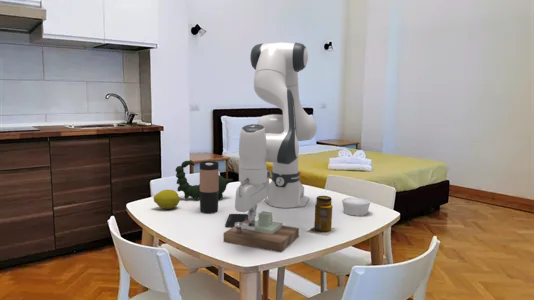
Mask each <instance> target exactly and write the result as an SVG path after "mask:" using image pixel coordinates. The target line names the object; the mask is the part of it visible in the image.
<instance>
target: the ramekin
mask: <svg viewBox="0 0 534 300" xmlns="http://www.w3.org/2000/svg"><path fill="white" fill-rule="evenodd" d="M341 203H342V209H343V212H344V214H346V215H348V214H349V215H348V216H352V215H355V216H354V217H362V216H361V215H364V216H366V215H367V214H368V212H369V209H370V204H371V201H370V200H369V199H366V198H363V197H362V198H361V197H346V198H343V199H342V200H341Z"/></svg>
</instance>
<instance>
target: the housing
mask: <svg viewBox="0 0 534 300" xmlns="http://www.w3.org/2000/svg"><path fill="white" fill-rule="evenodd" d="M242 223H245V224H248V220H245V221H243V222H242ZM299 228H300V227H295V226H288V225H283V227H281V228H280V229H279V230H277V231H276V232H275V233H273V234H268V233H262V232H256V231H250V230H247V229H243V228H235V226H234V227H233V228H229V229H227V230H226V231H224V232H223V242H224V243H227V244H234V245H238V246H239V245H240V246H245V247H249V248H255V249H259V250H261V249H262V250H265V251H266V250H267V251H271V252H276V253H282V252H283V251H285V249H286V248H287V247H289V246H290V245H291V244H292V243H293V242H294V241H296V239H298V238H299V236H300V235H299V234H300V232H299V231H300V229H299Z"/></svg>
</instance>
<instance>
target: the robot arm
mask: <svg viewBox="0 0 534 300" xmlns="http://www.w3.org/2000/svg"><path fill="white" fill-rule="evenodd" d="M249 59H250V64H251V67H252V69H254V77H253V91H254V92H255V93H256V95H257V97H259V98H260V99H261V100H262V101H264V102H265V103H267V104H270V105H273V106H275V107H277V108H278V109H280V110H281V111H282V114H267V115H262V116H261V117H260V118H259V119H258V121H257V123H255V124H254V123H252V124H246V125H244V126H243V127H241V128H240V135H239V142H238V143H239V144H238V155H239V164H238V182H240V184H239V185H238V186H237V188H236V191H235V199H234V201H235V203H234V209H235V211H236V212H241V213H248V211H250V210H251V211H255V218H256V217H257V209H258V204H259V203H261V202H262V201H264V202H265V203H267V204H268V205H269V206H271V207H274V208H282V209H283V208H284V209H286V208H287V209H290V208H292V209H293V208H301V207H302V208H303V207H306V206H307V204H308V201H309V200H310V197H309V196H307V195H305V186H304V185H303V184H302V182H301V181H300V180H301V179H300V177H301V175H302V174H301V173H302V172H301V171H299V153H300V151H299V150H300V146H299V142H303V141H305V142H306V141H309V140H312V139H313V138H314V137H315V135H316V134H317V129H318V127H317V123H316V121H315V119H314V118H313V117H312V116H311V115H309V114H308V113H307V112H306V111H305V110H304V108H303V106H302V104H301V101H300V95H299V94H300V92H299V77H298V73H299V72H300V71H303V70H304V69H305V68H306V66H307V65H308V60H309V53H308V50H307V47H306V45H304V43H301V42H294V43H293V42H288V41H287V42H286V41H285V42H284V41H283V42H282V41H280V42H279V41H278V42H270V43H258V44H255V45H254V46H253V47H252V48H251V52H250V57H249ZM267 163H272V171H271V170H268V169H267V168H268V167H267ZM270 177H271V181H270Z"/></svg>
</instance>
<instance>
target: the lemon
mask: <svg viewBox="0 0 534 300" xmlns="http://www.w3.org/2000/svg"><path fill="white" fill-rule="evenodd" d="M181 200H182V199H181V196H180V195H179V194H178V191H175V190H173V189H164V190H161V191H159V192H157V193H156V194H154V196H153V202H154V203H156V205H157V206H158V207H159V208H161V209H164V210H165V209H166V210H171V209H174V208H176V207H177V206H178V205H179V203H180V201H181Z"/></svg>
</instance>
